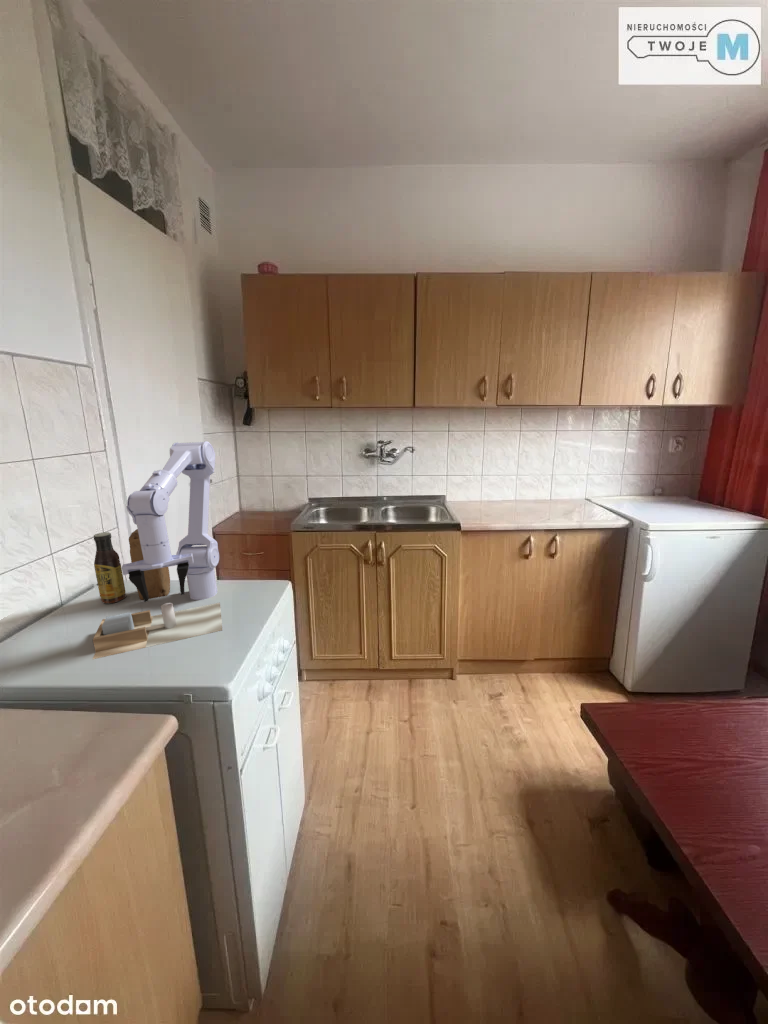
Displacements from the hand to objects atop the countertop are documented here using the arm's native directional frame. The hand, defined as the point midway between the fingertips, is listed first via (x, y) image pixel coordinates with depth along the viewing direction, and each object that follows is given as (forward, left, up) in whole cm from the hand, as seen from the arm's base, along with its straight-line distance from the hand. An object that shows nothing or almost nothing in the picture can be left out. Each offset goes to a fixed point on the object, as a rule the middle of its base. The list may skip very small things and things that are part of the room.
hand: (165, 596), depth 100 cm
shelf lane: (0, -1, -9) cm, 9 cm away
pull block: (0, -6, -8) cm, 10 cm away
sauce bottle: (-28, -16, -10) cm, 34 cm away
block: (-26, -5, -10) cm, 28 cm away
